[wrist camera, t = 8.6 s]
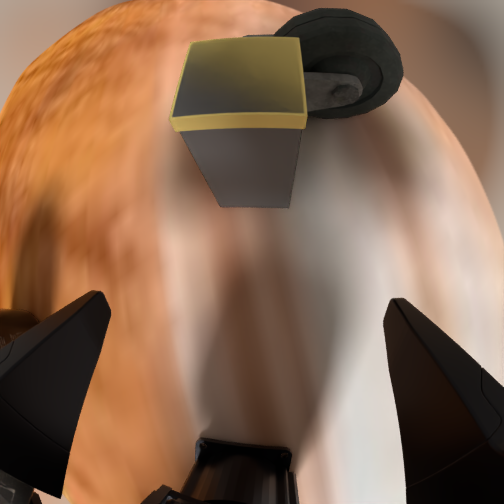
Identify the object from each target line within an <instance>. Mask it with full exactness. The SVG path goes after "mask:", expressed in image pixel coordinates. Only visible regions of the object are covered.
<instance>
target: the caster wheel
mask: <svg viewBox="0 0 504 504" xmlns="http://www.w3.org/2000/svg"><path fill="white" fill-rule="evenodd" d="M243 37H296V38H299V41H300V49H301V57H302V65H303V74H304V84H305V94H306V105H307V116H313V117H318V118H324V119H329V118H348V117H352V116H356V115H360V114H364V113H367V112H369V111H371V110H373V109H375V108H377V107H379V106H381V105H383V104H385V103H386V102H387V101H388V100H389V99H390V98H391V97H392V96H393V95H394V94H395V93H396V92H397V91H398V88H399V86H400V83H401V80H402V78H403V66H402V62H401V57H400V53H399V52H398V50H397V48H396V47H395V45H394V44H393V42H392V40H391V39H390V37H389V36H388V34H387V33H386V32H385V31H384V30H383V29H382V28H381V27H380V26H379V25H378V24H377V23H376V22H375V21H374V20H373V19H370V18H368V17H366V16H363V15H361V14H359V13H356V12H353V11H351V10H348V9H337V8H318V9H315V10H312V11H309V12H306V13H303V14H300V15H297V16H295V17H293V18H292V19H290V20H289V21H288V22H287V23H286V24H285V25H283V26H282V27H281V28H280V29H279V30H278V31H277V32H276V33H275V34H273V35H247V36H243Z"/></svg>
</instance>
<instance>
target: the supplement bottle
mask: <svg viewBox="0 0 504 504" xmlns="http://www.w3.org/2000/svg"><path fill="white" fill-rule="evenodd" d="M37 324H39V322H38V320H37V319H36V318H35V317H34V316H33V315H32V314H31V313H29V312H28V311H25V310H18V309H0V349H1V348H3V347H4V346H6V345H7V344H9V343H10V342H12V341H13V340H15V339H16V338H18V337H19V336H21V335H22V334H24V333H25V332H27V331H28V330H30V329H31V328H33V327H34V326H36V325H37Z"/></svg>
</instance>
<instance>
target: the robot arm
mask: <svg viewBox="0 0 504 504" xmlns="http://www.w3.org/2000/svg"><path fill="white" fill-rule="evenodd" d="M110 318H111V309H110V307H109V304H108V302H107V300H106V298H105V295H104V293H103V292H101V291H95V290H92V291H89V292H88V293H86V294H85V295H83V296H81V297H80V298H78V299H76V300H75V301H73V302H72V303H70V304H68V305H67V306H65V307H64V308H62V309H60V310H59V311H57V312H56V313H54V314H53V315H51V316H49V317H48V318H46V319H45V320H43V321H42V322H40V323H39V324H37V325H36V326H34V327H33V328H31V329H30V330H28V331H27V332H25V333H24V334H22V335H21V336H19V337H18V338H16V339H15V340H13V341H12V342H10V343H9V344H7V345H6V346H4V347H3V348H1V349H0V504H42V502H41V500H40V497H39V495H38V494H37V493H36V492H34V488H36V489H38V490H40V491H42V492H44V493H47V494H49V495H51V496H54V497H56V498H59V499H61V496H62V491H63V485H64V480H65V474H66V469H67V465H68V460H69V456H70V453H69V452H70V451H71V446H72V442H73V438H74V435H75V431H76V427H77V423H78V420H79V416H80V413H81V410H82V406H83V403H84V400H85V397H86V393H87V390H88V387H89V384H90V381H91V378H92V375H93V373H94V370H95V367H96V364H97V361H98V359H99V356H100V353H101V349H102V346H103V342H104V338H105V335H106V331H107V328H108V324H109V321H110ZM383 327H384V334H385V342H386V350H387V359H388V367H389V373H390V378H391V383H392V388H393V393H394V398H395V404H396V410H397V416H398V422H399V428H400V435H401V443H402V451H403V460H404V470H405V483H406V504H504V387H503V386H502V385H501V384H500V383H499V382H498V381H496V380H495V379H494V378H493V377H492V376H491V375H490V374H489V373H488V372H487V371H486V370H485V369H484V368H481V365H480V364H479V363H477V362H476V361H475V360H474V359H473V358H472V357H471V356H470V355H469V354H468V353H467V352H466V351H465V350H464V349H462V348H461V347H460V346H459V345H458V344H457V343H456V342H455V341H454V340H453V339H451V338H450V337H449V336H448V335H447V334H446V333H445V332H444V331H442V330H441V329H440V328H439V327H438V326H437V325H436V324H434V323H433V322H432V321H431V320H430V319H429V318H427V317H426V316H425V315H424V314H423V313H422V312H420V311H419V310H418V309H417V308H416V307H414V306H413V305H412V304H411V303H410V302H408V301H407V300H406V299H404V298H392V299H391V300H390V302H389V304H388V307H387V310H386V313H385V316H384V320H383ZM201 443H204V444H205V445H206V446H202V445H201ZM282 453H287V455H284V456H283V455H281V454H282ZM291 458H292V452H291V450H290V449H289V448H287V447H272V446H260V445H250V444H241V443H233V442H226V441H219V440H213V439H208V438H200V439H198V440H197V442H196V450H195V464H194V466H193V468H192V470H191V472H190V474H189V476H188V478H187V479H186V481H185V483H184V485H183V487H182V489H181V491H180V493H179V492H176V491H174V490H172V488H170V487H168V486H165V485H162V486H161V487H160V488H159V489H158V490H157V491H155V490H154V491H153V492H152V493H151V494H150V495H149V496H148V497H147V498H146V499H145V500H144V501H143V502H142V503H141V504H299V497H298V489H297V481H296V474H295V473H294V472H289V468H290V463H291Z"/></svg>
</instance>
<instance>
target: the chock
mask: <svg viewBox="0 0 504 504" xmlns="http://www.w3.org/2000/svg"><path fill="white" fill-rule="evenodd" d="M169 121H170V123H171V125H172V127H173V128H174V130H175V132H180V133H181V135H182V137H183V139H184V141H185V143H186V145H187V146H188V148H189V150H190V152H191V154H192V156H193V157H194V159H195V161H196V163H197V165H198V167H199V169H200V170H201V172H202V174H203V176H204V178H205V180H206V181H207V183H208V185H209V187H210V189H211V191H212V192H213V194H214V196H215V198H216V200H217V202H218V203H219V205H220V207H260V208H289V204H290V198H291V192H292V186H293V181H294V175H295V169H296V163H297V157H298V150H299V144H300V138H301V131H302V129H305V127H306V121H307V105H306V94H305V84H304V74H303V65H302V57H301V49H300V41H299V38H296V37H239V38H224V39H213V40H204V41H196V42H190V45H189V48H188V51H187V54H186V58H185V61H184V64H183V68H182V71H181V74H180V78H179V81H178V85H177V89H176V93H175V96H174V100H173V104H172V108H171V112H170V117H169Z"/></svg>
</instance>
